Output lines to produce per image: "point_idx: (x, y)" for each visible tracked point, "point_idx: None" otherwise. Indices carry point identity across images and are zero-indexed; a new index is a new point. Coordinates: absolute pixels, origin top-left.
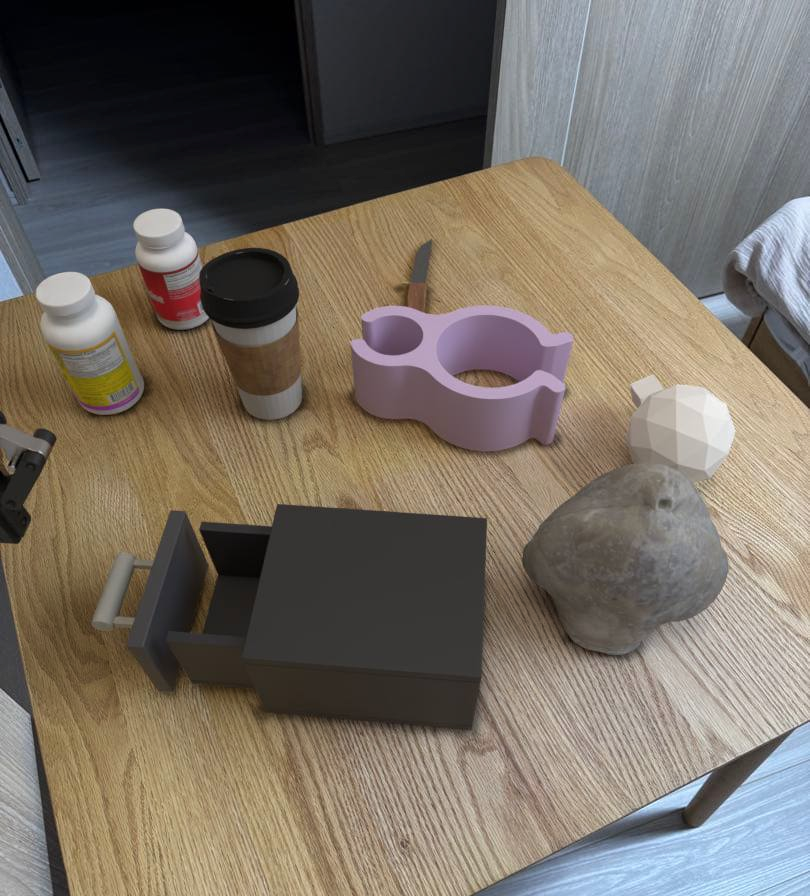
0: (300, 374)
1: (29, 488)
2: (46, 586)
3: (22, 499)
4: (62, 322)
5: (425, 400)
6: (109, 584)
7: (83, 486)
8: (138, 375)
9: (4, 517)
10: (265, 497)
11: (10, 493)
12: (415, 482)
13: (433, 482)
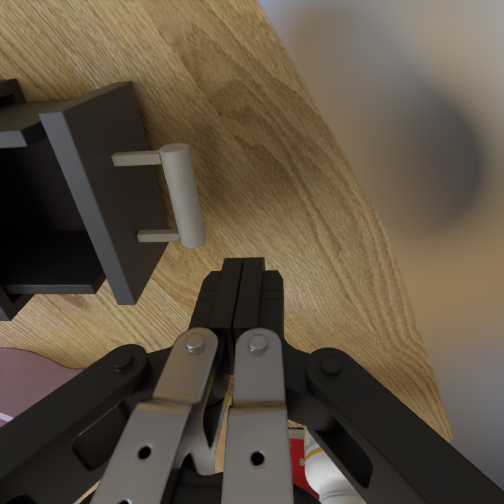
0: None
1: (5, 427)
2: (329, 197)
3: (76, 381)
4: (348, 484)
5: (46, 390)
6: (184, 206)
7: (328, 303)
8: None
9: (207, 314)
10: (151, 304)
11: (84, 402)
12: (38, 323)
13: (24, 323)
